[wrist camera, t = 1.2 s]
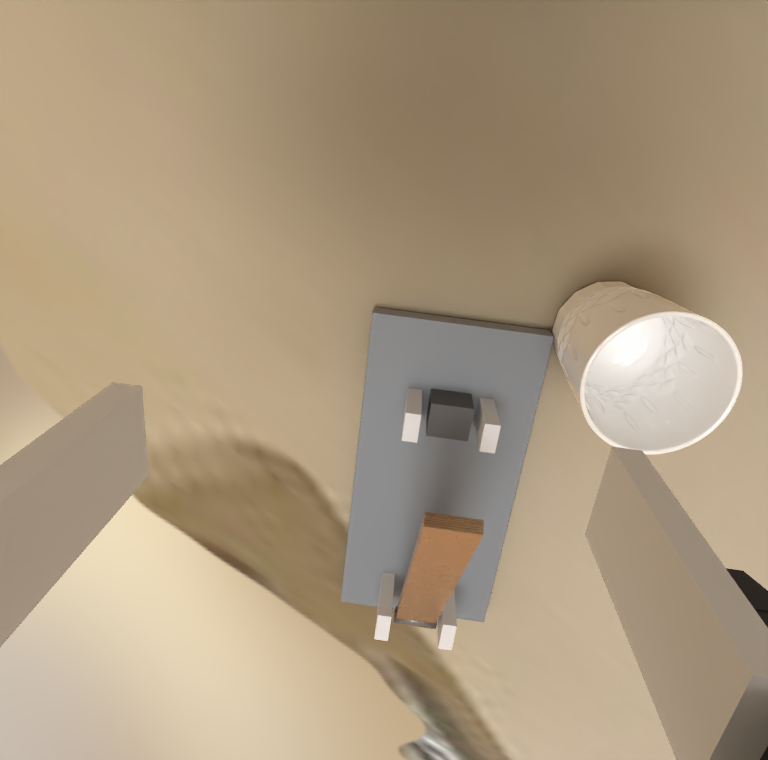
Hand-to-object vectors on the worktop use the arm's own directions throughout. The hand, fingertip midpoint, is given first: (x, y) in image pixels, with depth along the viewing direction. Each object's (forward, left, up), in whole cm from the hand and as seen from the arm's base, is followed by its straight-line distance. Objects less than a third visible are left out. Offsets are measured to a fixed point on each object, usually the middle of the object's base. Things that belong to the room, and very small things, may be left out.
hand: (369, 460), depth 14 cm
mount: (+15, +4, -24) cm, 29 cm away
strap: (+17, +4, -16) cm, 24 cm away
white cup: (+2, +14, -24) cm, 28 cm away
